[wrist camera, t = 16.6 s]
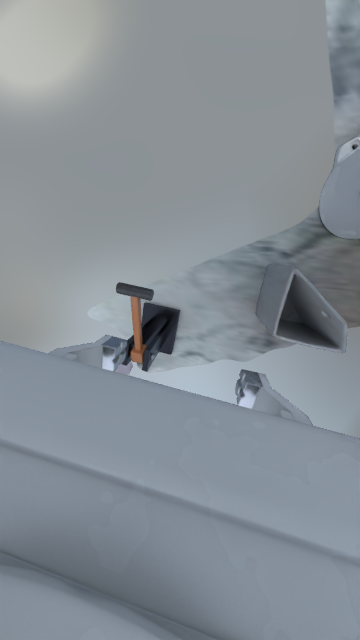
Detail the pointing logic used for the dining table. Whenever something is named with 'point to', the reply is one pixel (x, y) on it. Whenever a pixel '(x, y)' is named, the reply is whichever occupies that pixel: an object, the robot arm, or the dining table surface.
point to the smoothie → (124, 368)
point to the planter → (299, 311)
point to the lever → (136, 316)
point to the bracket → (155, 333)
